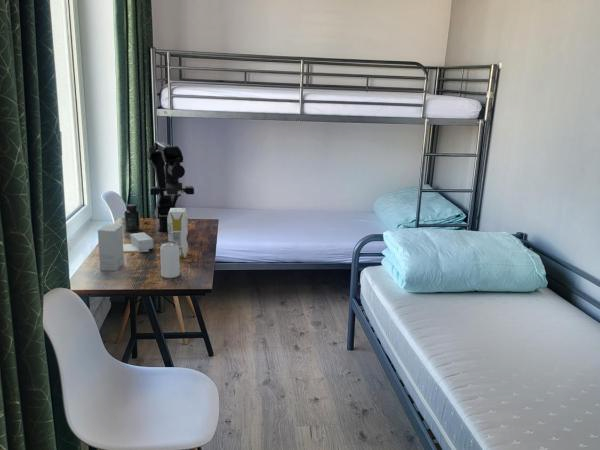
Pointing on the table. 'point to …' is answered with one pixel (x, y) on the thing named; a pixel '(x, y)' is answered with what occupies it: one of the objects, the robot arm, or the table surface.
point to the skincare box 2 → (141, 241)
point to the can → (170, 259)
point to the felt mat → (132, 248)
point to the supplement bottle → (132, 218)
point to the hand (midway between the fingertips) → (173, 209)
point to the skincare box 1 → (111, 247)
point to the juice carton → (178, 229)
